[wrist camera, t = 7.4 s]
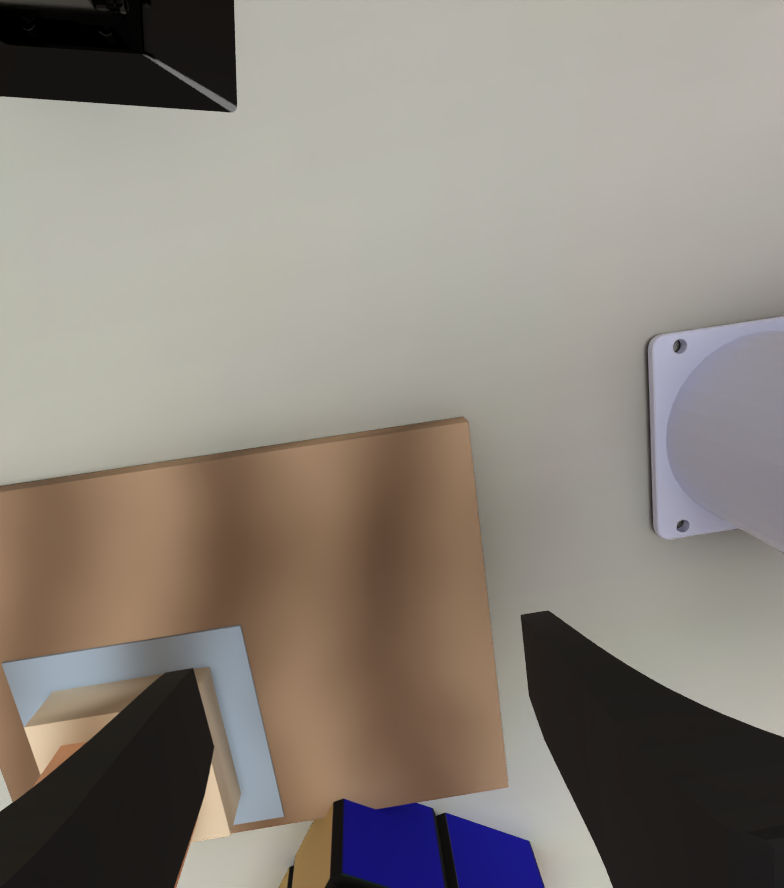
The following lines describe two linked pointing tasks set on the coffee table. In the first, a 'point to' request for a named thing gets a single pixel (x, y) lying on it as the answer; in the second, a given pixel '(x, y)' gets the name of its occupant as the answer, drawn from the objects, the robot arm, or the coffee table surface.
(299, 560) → the building board
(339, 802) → the puzzle cube
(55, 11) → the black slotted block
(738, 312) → the coffee table surface
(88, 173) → the coffee table surface
